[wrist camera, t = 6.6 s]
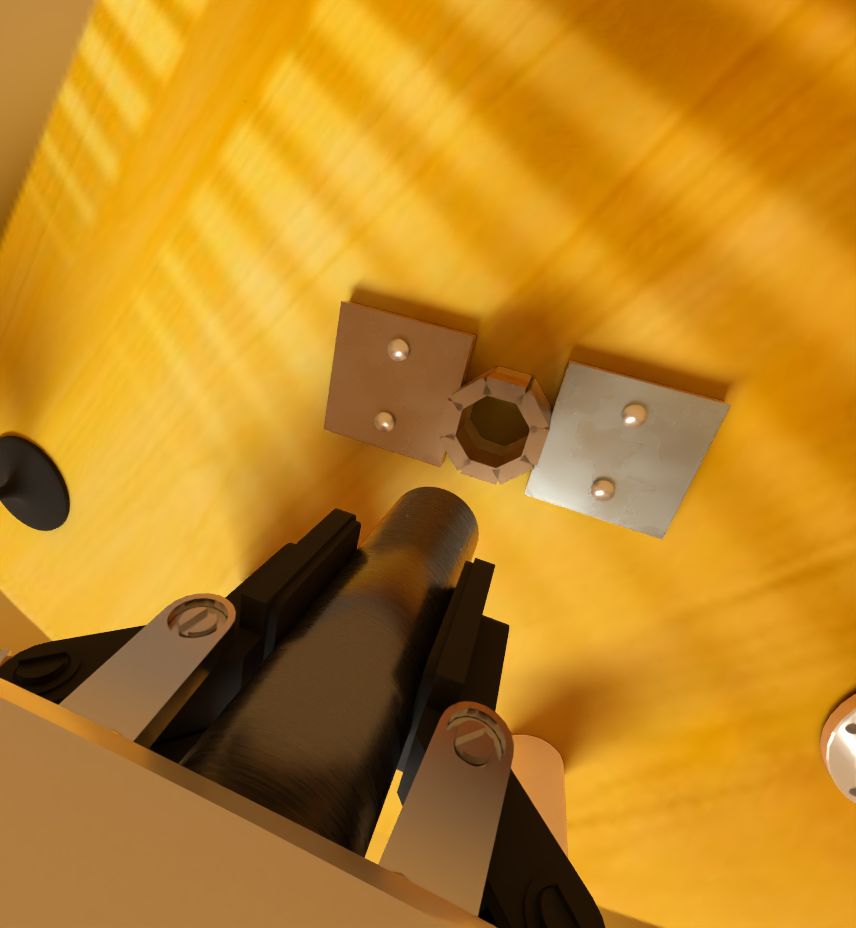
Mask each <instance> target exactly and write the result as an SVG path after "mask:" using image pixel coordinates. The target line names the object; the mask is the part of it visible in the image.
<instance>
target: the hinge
mask: <svg viewBox="0 0 856 928" xmlns="http://www.w3.org/2000/svg"><path fill="white" fill-rule="evenodd" d="M476 336H477V335H474V334H470V333H467V332H463V331H459V330H455V329H452V328H448V327H444V326H440V325H437V324H433V323H429V322H425V321H422V320H418V319H414V318H410V317H406V316H403V315H399V314H395V313H391V312H388V311H384V310H380V309H376V308H373V307H369V306H365V305H361V304H358V303H354V302H350V301H341V308H340V315H339V322H338V329H337V337H336V344H335V351H334V359H333V366H332V373H331V381H330V388H329V395H328V402H327V410H326V417H325V424H324V429H325V430H328V431H331V432H334V433H337V434H340V435H343V436H346V437H349V438H352V439H355V440H358V441H362V442H365V443H368V444H371V445H374V446H377V447H380V448H383V449H386V450H389V451H392V452H395V453H398V454H401V455H405V456H408V457H411V458H414V459H417V460H420V461H423V462H426V463H429V464H432V465H435V466H438V467H440V466H441V465H442V464H443V462H444V460H445V456H446V452H447V454H448V455H449V457H450V459H451V460H452V462H453V464H454V466H455V467H456V469H457V470H459V469H461V468H462V471H461V473H462V474H465V475H468V476H471V477H474V478H477V479H480V480H483V481H486V482H489V483H492V484H495V485H496V483H497V480H498V481H499V483H500V484H502V483H505V482H507V481H509V480H511V479H513V478H516V477H518V476H520V475H522V474H524V473H527V472H529V471H531V470H532V471H531V474H530V477H529V479H528V482H527V485H526V488H525V493H524V495H527V496H530V497H534V498H537V499H540V500H543V501H546V502H549V503H552V504H555V505H558V506H561V507H564V508H567V509H570V510H573V511H576V512H580V513H583V514H586V515H589V516H592V517H595V518H598V519H601V520H604V521H607V522H610V523H613V524H616V525H619V526H623V527H626V528H629V529H632V530H635V531H638V532H641V533H644V534H647V535H650V536H653V537H656V538H659V539H663V537H664V535H665V533H666V531H667V529H668V527H669V526H670V524H671V522H672V520H673V518H674V516H675V514H676V512H677V510H678V508H679V506H680V504H681V502H682V500H683V498H684V496H685V494H686V492H687V490H688V488H689V486H690V484H691V482H692V480H693V478H694V476H695V474H696V472H697V470H698V468H699V466H700V465H701V463H702V461H703V459H704V457H705V455H706V453H707V451H708V449H709V447H710V445H711V443H712V441H713V439H714V437H715V435H716V433H717V431H718V429H719V427H720V425H721V423H722V421H723V419H724V417H725V415H726V413H727V411H728V409H729V407H730V404H728V403H726V402H725V401H722V400H719V399H715V398H711V397H707V396H704V395H700V394H696V393H692V392H688V391H685V390H681V389H677V388H673V387H670V386H666V385H662V384H658V383H655V382H651V381H647V380H643V379H640V378H636V377H632V376H628V375H625V374H621V373H617V372H613V371H610V370H606V369H602V368H598V367H594V366H591V365H587V364H583V363H579V362H576V361H572V360H570V361H569V364H568V367H567V370H566V372H565V375H564V378H563V381H562V384H561V387H560V390H559V393H558V396H557V398H556V401H555V404H554V407H553V410H552V412H551V406H550V404H549V402H548V400H547V398H546V397H545V395H544V393H543V391H542V389H541V387H540V385H539V384H538V382H537V380H536V378H534V379H532V380H531V377H532V375H529V374H526V373H522V372H518V371H515V370H511V369H508V368H504V367H500V366H498V367H497V368H495V367H493V368H491V369H490V370H488V371H486V372H485V373H483V374H481V375H479V376H478V377H476V378H474V379H472V380H471V381H469V382H467V383H466V384H464V383H465V379H466V375H467V371H468V367H469V363H470V359H471V355H472V352H473V348H474V344H475V340H476ZM486 396H491V397H494V398H498V399H501V400H505V401H508V402H511V403H515V404H516V405H517V406H518V408H519V410H520V412H521V414H522V415H523V417H524V419H525V421H526V423H527V425H528V426H529V428H530V429H529V432H528V435H526V436H524V437H522V438H520V439H518V440H516V441H514V442H512V443H510V444H508V445H506V446H505V445H502V444H499V443H496V442H492V441H489V440H486V439H483V438H482V437H481V435H480V433H479V432H478V430H477V428H476V426H475V425H474V423H473V421H472V419H471V418H470V417H471V414H472V410H473V406H474V403H475V402H477V401H478V400H480V399H482V398H484V397H486Z"/></svg>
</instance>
